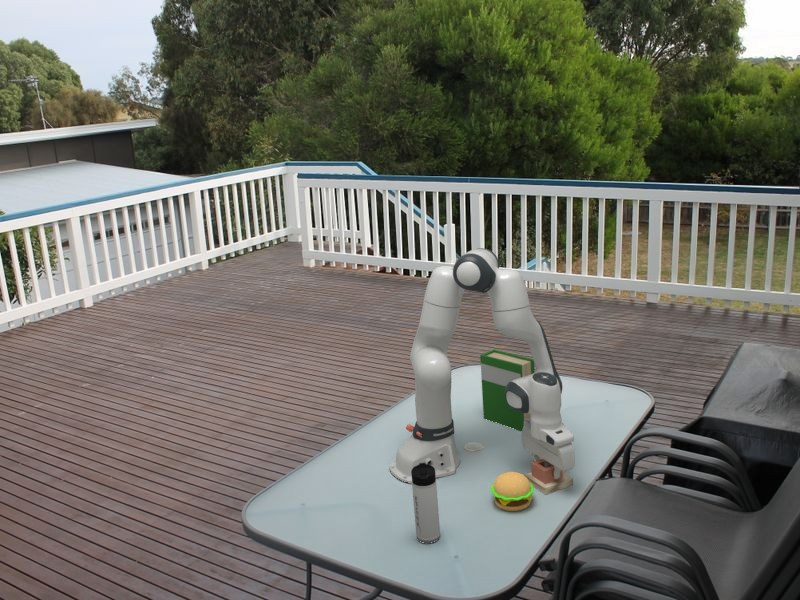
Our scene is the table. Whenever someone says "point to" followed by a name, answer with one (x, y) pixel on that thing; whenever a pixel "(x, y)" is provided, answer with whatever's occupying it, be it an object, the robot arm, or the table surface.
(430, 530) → the travel mug
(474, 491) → the table surface
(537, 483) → the stand
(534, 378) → the robot arm
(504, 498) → the hamburger
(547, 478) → the brown square ring block
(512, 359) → the hardback book
